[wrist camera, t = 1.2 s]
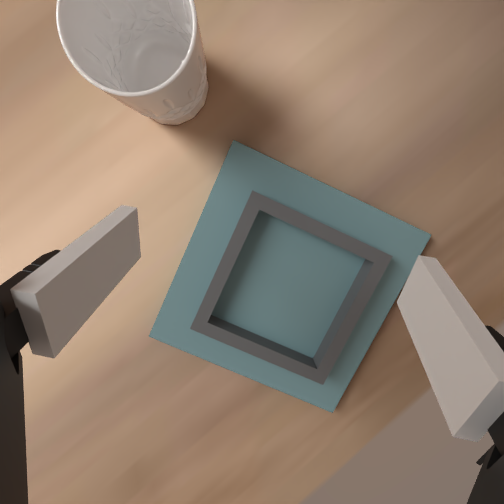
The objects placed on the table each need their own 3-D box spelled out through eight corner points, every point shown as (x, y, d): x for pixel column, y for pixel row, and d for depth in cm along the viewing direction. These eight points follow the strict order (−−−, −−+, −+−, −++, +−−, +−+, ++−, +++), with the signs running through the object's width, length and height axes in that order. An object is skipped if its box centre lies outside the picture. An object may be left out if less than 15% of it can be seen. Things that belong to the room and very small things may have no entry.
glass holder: (234, 141, 28) (232, 135, 25) (425, 233, 30) (444, 237, 27) (151, 332, 31) (141, 346, 28) (330, 406, 33) (338, 426, 30)
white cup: (163, 14, 26) (113, -95, 17) (233, 81, 27) (225, 15, 18) (107, 89, 27) (27, 26, 18) (176, 151, 28) (138, 125, 18)
